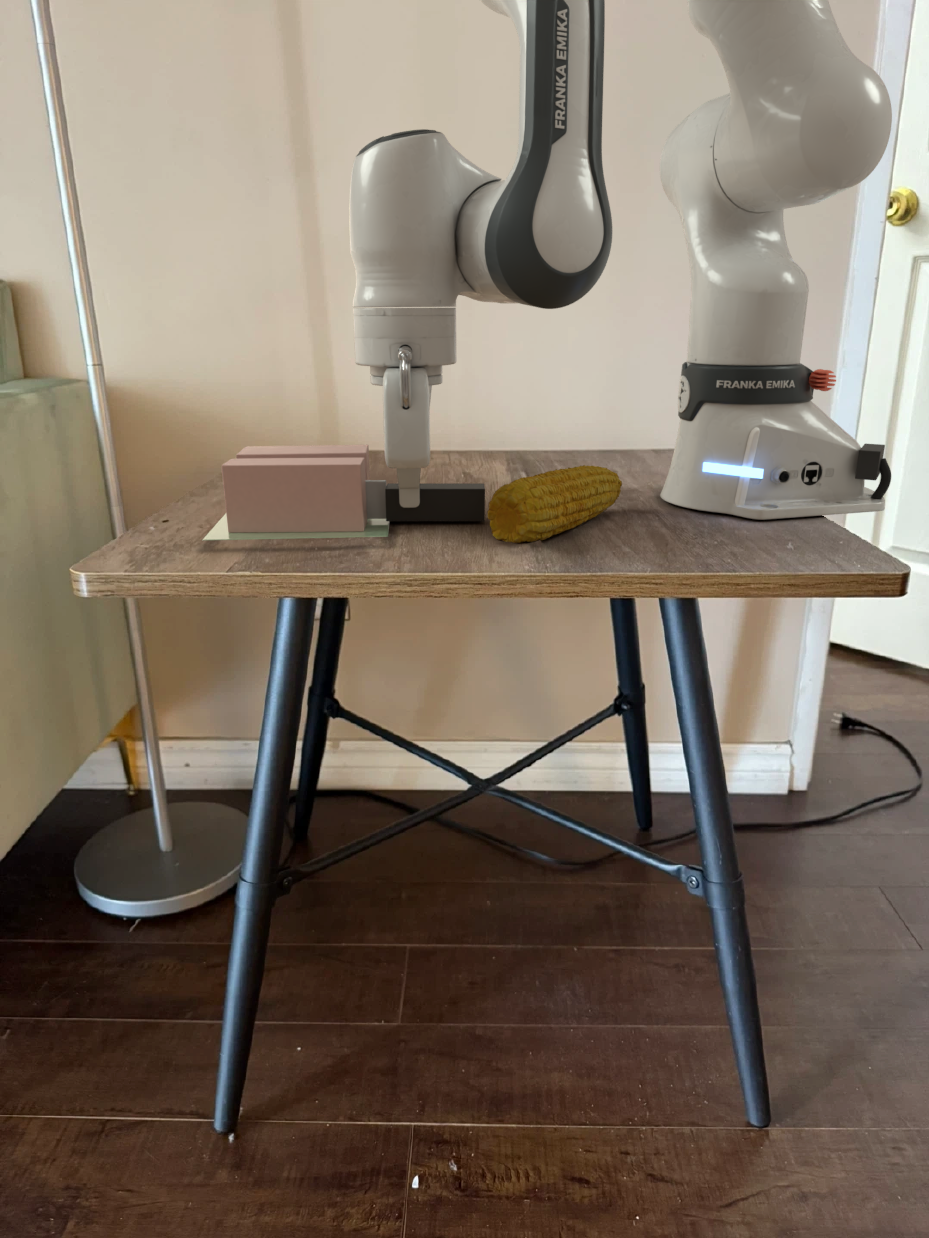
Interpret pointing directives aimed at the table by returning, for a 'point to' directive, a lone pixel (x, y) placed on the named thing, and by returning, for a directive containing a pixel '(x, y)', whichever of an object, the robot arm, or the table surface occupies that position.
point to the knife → (427, 502)
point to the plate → (371, 530)
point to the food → (551, 502)
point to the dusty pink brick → (295, 495)
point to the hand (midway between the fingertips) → (409, 501)
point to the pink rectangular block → (308, 452)
